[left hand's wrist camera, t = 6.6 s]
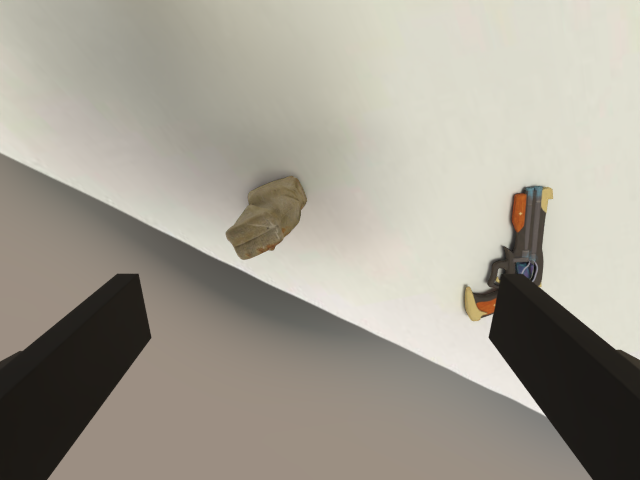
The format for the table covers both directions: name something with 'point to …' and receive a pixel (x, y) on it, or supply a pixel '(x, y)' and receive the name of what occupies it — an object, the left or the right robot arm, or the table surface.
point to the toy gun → (517, 249)
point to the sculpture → (267, 217)
